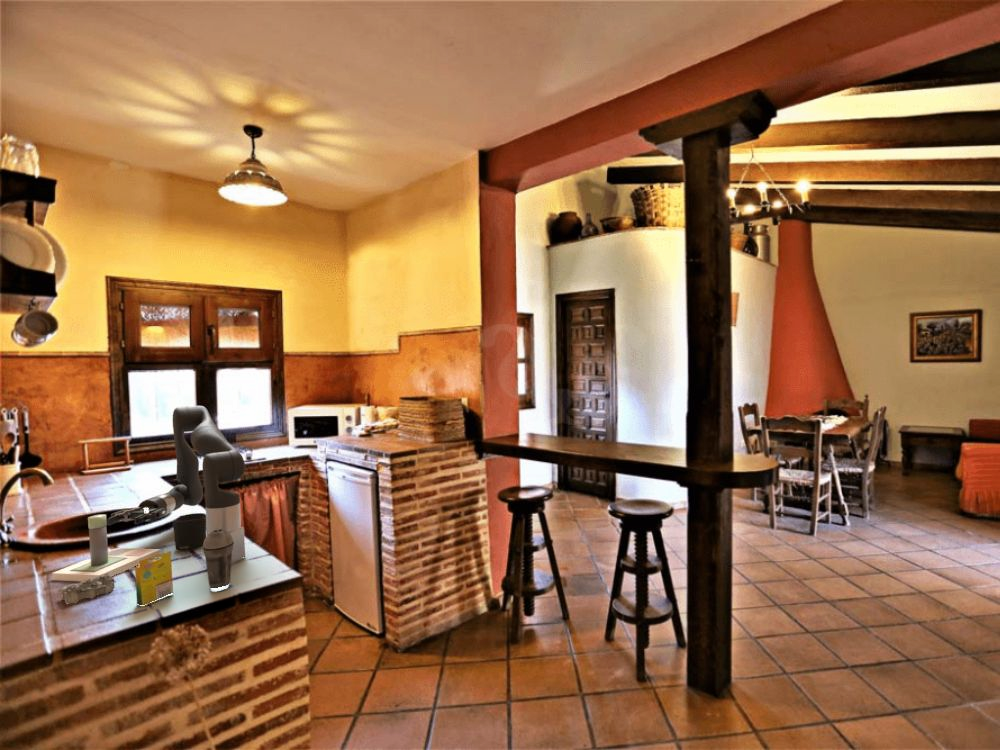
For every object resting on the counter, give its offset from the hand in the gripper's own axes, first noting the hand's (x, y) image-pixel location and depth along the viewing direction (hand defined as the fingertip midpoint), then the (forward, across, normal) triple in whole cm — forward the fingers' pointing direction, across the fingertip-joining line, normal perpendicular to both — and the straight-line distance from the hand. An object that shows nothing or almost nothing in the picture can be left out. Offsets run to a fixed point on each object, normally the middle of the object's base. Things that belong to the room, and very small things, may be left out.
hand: (121, 521), depth 156 cm
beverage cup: (+24, +44, +12) cm, 52 cm away
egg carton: (+26, +10, +12) cm, 30 cm away
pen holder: (-9, +16, +12) cm, 22 cm away
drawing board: (+6, +1, +12) cm, 13 cm away
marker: (+9, 0, +10) cm, 13 cm away
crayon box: (+30, +31, +12) cm, 45 cm away
